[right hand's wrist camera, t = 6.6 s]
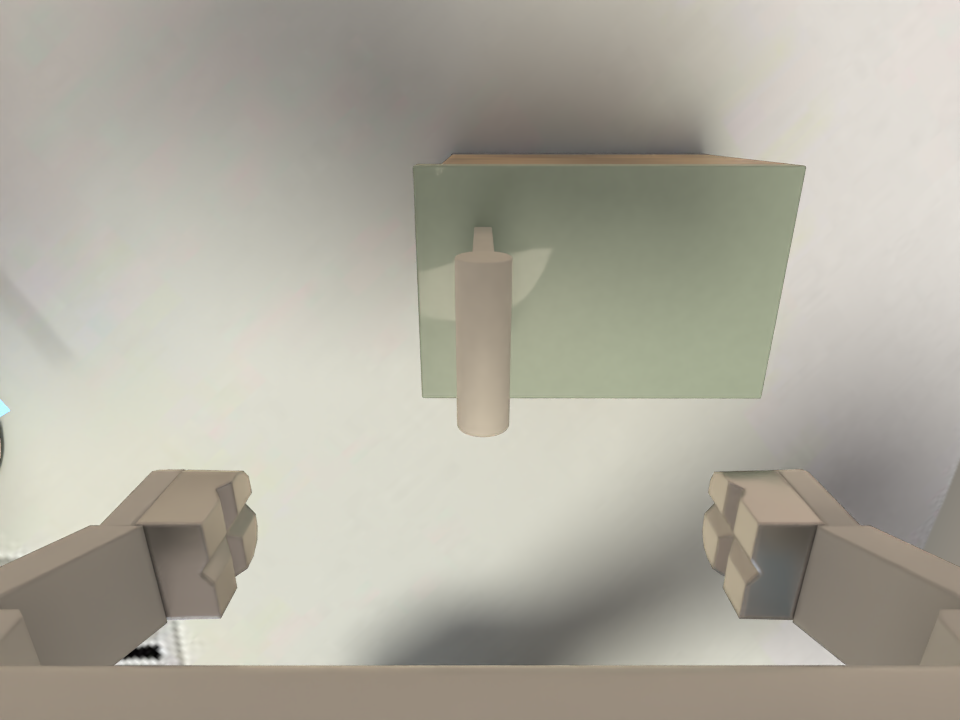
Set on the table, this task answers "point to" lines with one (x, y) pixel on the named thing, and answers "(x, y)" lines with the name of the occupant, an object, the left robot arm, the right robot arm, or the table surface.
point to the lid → (598, 281)
